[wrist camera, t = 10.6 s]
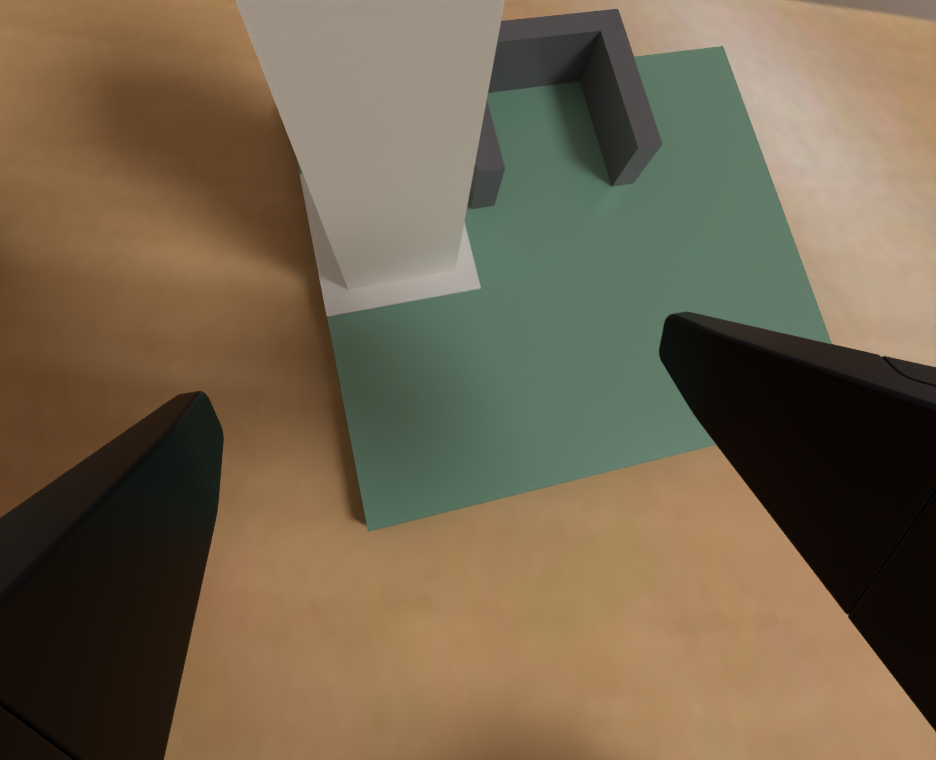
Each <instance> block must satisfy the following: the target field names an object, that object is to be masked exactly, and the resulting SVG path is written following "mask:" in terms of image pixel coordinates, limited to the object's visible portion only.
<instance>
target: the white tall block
mask: <svg viewBox="0 0 936 760" xmlns="http://www.w3.org/2000/svg"><path fill="white" fill-rule="evenodd" d="M235 1H236V4H237V6H238V9H239V12H240V14H241V17H242V19H243V22H244V24H245V27H246V29H247V32H248V35H249V37H250V40H251V42H252V45H253V47H254V50H255V52H256V55H257V58H258V60H259V63H260V65H261V68H262V70H263V73H264V75H265V78H266V81H267V83H268V86H269V88H270V91H271V93H272V96H273V98H274V101H275V104H276V106H277V109H278V111H279V114H280V116H281V119H282V121H283V124H284V127H285V129H286V132H287V134H288V137H289V139H290V142H291V145H292V147H293V150H294V152H295V155H296V157H297V160H298V162H299V165H300V168H301V170H302V173H303V175H304V178H305V180H306V183H307V185H308V188H309V191H310V193H311V196H312V198H313V201H314V203H315V206H316V208H317V211H318V214H319V216H320V219H321V221H322V224H323V226H324V229H325V231H326V234H327V237H328V239H329V242H330V244H331V247H332V249H333V252H334V254H335V257H336V260H337V262H338V265H339V267H340V270H341V272H342V275H343V278H344V280H345V283H346V285H347V288H348V290H350V289H355V288H361V287H366V286H372V285H378V284H383V283H389V282H395V281H400V280H406V279H411V278H417V277H423V276H428V275H434V274H440V273H445V272H451V271H455V270H456V265H457V259H458V254H459V248H460V243H461V237H462V232H463V227H464V221H465V216H466V210H467V205H468V199H469V194H470V188H471V183H472V177H473V172H474V166H475V161H476V155H477V150H478V144H479V139H480V134H481V128H482V123H483V117H484V112H485V106H486V101H487V95H488V90H489V84H490V79H491V73H492V68H493V62H494V57H495V52H496V46H497V41H498V35H499V30H500V24H501V19H502V13H503V8H504V2H505V0H235Z"/></svg>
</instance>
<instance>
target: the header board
mask: <svg viewBox="0 0 936 760" xmlns="http://www.w3.org/2000/svg"><path fill="white" fill-rule="evenodd" d="M297 162H298V160H297ZM298 167H299V172H300V179H301V184H302V190H303V195H304V200H305V205H306V211H307V216H308V221H309V226H310V232H311V237H312V242H313V247H314V253H315V258H316V263H317V268H318V274H319V279H320V284H321V289H322V295H323V300H324V305H325V311H326V316H327V319H328V324H329V330H330V335H331V340H332V346H333V351H334V356H335V361H336V367H337V372H338V377H339V382H340V388H341V393H342V398H343V403H344V409H345V414H346V419H347V424H348V430H349V435H350V440H351V445H352V451H353V456H354V461H355V466H356V472H357V477H358V482H359V487H360V493H361V498H362V503H363V508H364V514H365V519H366V524H367V529H368V531H372V530H376V529H380V528H384V527H388V526H392V525H396V524H400V523H404V522H408V521H412V520H416V519H420V518H424V517H428V516H432V515H436V514H440V513H444V512H448V511H452V510H456V509H460V508H464V507H468V506H472V505H476V504H480V503H484V502H488V501H493V500H497V499H501V498H505V497H509V496H513V495H517V494H521V493H525V492H529V491H533V490H537V489H541V488H545V487H549V486H553V485H557V484H561V483H565V482H569V481H573V480H577V479H581V478H585V477H589V476H593V475H597V474H601V473H605V472H609V471H613V470H617V469H621V468H625V467H629V466H633V465H637V464H641V463H645V462H649V461H653V460H657V459H661V458H665V457H669V456H673V455H677V454H681V453H685V452H689V451H693V450H697V449H701V448H705V447H709V446H713V445H716V444H715V442H714V441H713V440H712V438H711V437H710V436H709V435H708V433H707V432H706V431H705V429H704V428H703V427H702V425H701V424H700V423H699V421H698V420H697V419H696V417H695V416H694V414H693V413H692V411H691V410H690V408H689V407H688V405H687V403H686V402H685V400H684V398H683V397H682V395H681V393H680V392H679V390H678V388H677V387H676V385H675V383H674V382H673V380H672V379H671V377H670V375H669V374H668V372H667V370H666V369H665V367H664V365H663V364H662V362H661V360H660V357H659V346H660V341H661V336H662V331H663V325H664V321H665V319H666V317H667V316H668V315H670V314H673V313H679V312H693V313H697V314H702V315H706V316H710V317H715V318H719V319H724V320H728V321H732V322H737V323H741V324H746V325H750V326H754V327H759V328H763V329H768V330H772V331H776V332H781V333H785V334H790V335H794V336H798V337H803V338H807V339H812V340H816V341H820V342H825V343H829V344H832V343H831V340H830V338H829V335H828V332H827V329H826V327H825V324H824V321H823V318H822V316H821V313H820V310H819V307H818V305H817V302H816V299H815V297H814V294H813V291H812V288H811V286H810V283H809V280H808V277H807V275H806V272H805V269H804V266H803V264H802V261H801V258H800V255H799V253H798V250H797V247H796V245H795V242H794V239H793V236H792V234H791V231H790V228H789V225H788V223H787V220H786V217H785V214H784V212H783V209H782V206H781V204H780V201H779V198H778V195H777V193H776V190H775V187H774V184H773V182H772V179H771V176H770V173H769V171H768V168H767V165H766V163H765V160H764V157H763V154H762V152H761V149H760V146H759V143H758V141H757V138H756V135H755V132H754V130H753V127H752V124H751V121H750V119H749V116H748V113H747V111H746V108H745V105H744V102H743V100H742V97H741V94H740V91H739V89H738V86H737V83H736V80H735V78H734V75H733V72H732V70H731V67H730V64H729V61H728V59H727V56H726V53H725V50H724V48H723V46H720V47H712V48H704V49H696V50H687V51H679V52H671V53H662V54H654V55H646V56H637V57H634V56H633V53H632V50H631V47H630V44H629V41H628V38H627V34H626V31H625V28H624V25H623V22H622V19H621V16H620V13H619V10H618V9H612V10H603V11H593V12H583V13H574V14H564V15H555V16H545V17H536V18H526V19H517V20H507V21H501V24H500V30H499V35H498V41H497V46H496V52H495V57H494V62H493V68H492V73H491V79H490V84H489V90H488V95H487V101H486V106H485V112H484V117H483V123H482V128H481V134H480V139H479V144H478V150H477V155H476V161H475V166H474V172H473V177H472V183H471V188H470V194H469V199H468V205H467V210H466V216H465V221H464V227H463V232H462V237H461V243H460V248H459V254H458V259H457V265H456V270H455V271H451V272H445V273H440V274H434V275H428V276H423V277H417V278H411V279H406V280H400V281H395V282H389V283H383V284H378V285H372V286H366V287H361V288H355V289H350V290H348V288H347V285H346V283H345V280H344V278H343V275H342V272H341V270H340V267H339V265H338V262H337V260H336V257H335V254H334V252H333V249H332V247H331V244H330V242H329V239H328V237H327V234H326V231H325V229H324V226H323V224H322V221H321V219H320V216H319V214H318V211H317V208H316V206H315V203H314V201H313V198H312V196H311V193H310V191H309V188H308V185H307V183H306V180H305V178H304V175H303V173H302V170H301V168H300V165H299V162H298Z"/></svg>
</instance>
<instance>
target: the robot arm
mask: <svg viewBox="0 0 936 760" xmlns="http://www.w3.org/2000/svg"><path fill="white" fill-rule="evenodd" d="M659 357H660V360H661V362H662V364H663V365H664V367H665V369H666V370H667V372H668V374H669V375H670V377H671V379H672V380H673V382H674V383H675V385H676V387H677V388H678V390H679V392H680V393H681V395H682V397H683V398H684V400H685V402H686V403H687V405H688V407H689V408H690V410H691V411H692V413H693V414H694V416H695V417H696V419H697V420H698V421H699V423H700V424H701V425H702V427H703V428H704V429H705V431H706V432H707V433H708V435H709V436H710V437H711V438H712V440H713V441H714V442H715V444H716V445H717V446H718V448H719V449H720V450H721V452H722V453H723V454H724V455H725V457H726V458H727V459H728V461H729V462H730V463H731V465H732V466H733V467H734V468H735V470H736V471H737V472H738V474H739V475H740V476H741V478H742V479H743V480H744V482H745V483H746V484H747V485H748V487H749V488H750V489H751V491H752V492H753V493H754V495H755V496H756V497H757V499H758V500H759V501H760V502H761V504H762V505H763V506H764V508H765V509H766V510H767V512H768V513H769V514H770V515H771V517H772V518H773V519H774V521H775V522H776V523H777V525H778V526H779V527H780V529H781V530H782V531H783V532H784V534H785V535H786V536H787V538H788V539H789V540H790V542H791V543H792V544H793V545H794V547H795V548H796V549H797V551H798V552H799V553H800V555H801V556H802V557H803V559H804V560H805V561H806V562H807V564H808V565H809V566H810V568H811V569H812V570H813V572H814V573H815V574H816V575H817V577H818V578H819V579H820V581H821V582H822V583H823V585H824V586H825V587H826V589H827V590H828V591H829V592H830V594H831V595H832V596H833V598H834V599H835V600H836V602H837V603H838V604H839V606H840V607H841V608H842V609H843V611H844V612H845V613H846V614H849V615H848V618H849V619H850V620H851V622H852V623H853V624H854V626H855V627H856V628H857V630H858V631H859V632H860V633H861V635H862V636H863V637H864V639H865V640H866V641H867V643H868V644H869V645H870V647H871V648H872V649H873V650H874V652H875V653H876V654H877V656H878V657H879V658H880V660H881V661H882V662H883V664H884V665H885V666H886V667H887V669H888V670H889V671H890V673H891V674H892V675H893V677H894V678H895V679H896V681H897V682H898V683H899V684H900V686H901V687H902V688H903V690H904V691H905V692H906V694H907V695H908V696H909V698H910V699H911V700H912V701H913V703H914V704H915V705H916V707H917V708H918V709H919V711H920V712H921V713H922V715H923V716H924V717H925V718H926V720H927V721H928V722H929V724H930V725H931V726H932V728H933V729H934V730H935V732H936V367H932V366H927V365H922V364H918V363H913V362H909V361H904V360H900V359H895V358H891V357H887V356H883V357H881V356H880V355H878V354H873V353H869V352H864V351H860V350H856V349H851V348H847V347H842V346H838V345H834V344H829V343H825V342H820V341H816V340H812V339H807V338H803V337H798V336H794V335H790V334H785V333H781V332H776V331H772V330H768V329H763V328H759V327H754V326H750V325H746V324H741V323H737V322H732V321H728V320H724V319H719V318H715V317H710V316H706V315H702V314H697V313H693V312H679V313H673V314H670V315H668V316H667V317H666V319H665V321H664V325H663V331H662V336H661V341H660V346H659ZM223 441H224V437H223V430H222V427H221V424H220V422H219V420H218V418H217V415H216V413H215V411H214V409H213V406H212V404H211V402H210V400H209V398H208V396H207V395H206V394H205V393H204V392H202V391H196V392H190V393H184V394H179V395H177V396H175V397H174V398H172V399H171V400H170V401H168V402H167V403H165V404H164V405H162V406H161V407H159V408H158V409H157V410H155V411H154V412H152V413H151V414H149V415H148V416H146V417H145V418H144V419H142V420H141V421H139V422H138V423H136V424H135V425H133V426H132V427H131V428H129V429H128V430H126V431H125V432H123V433H122V434H121V435H119V436H118V437H116V438H115V439H113V440H112V441H110V442H109V443H108V444H106V445H105V446H103V447H102V448H100V449H99V450H97V451H96V452H95V453H93V454H92V455H90V456H89V457H87V458H86V459H84V460H83V461H82V462H80V463H79V464H77V465H76V466H74V467H73V468H72V469H70V470H69V471H67V472H66V473H64V474H63V475H61V476H60V477H59V478H57V479H56V480H54V481H53V482H51V483H50V484H48V485H47V486H46V487H44V488H43V489H41V490H40V491H38V492H37V493H35V494H34V495H33V496H31V497H30V498H28V499H27V500H25V501H24V502H23V503H21V504H20V505H18V506H17V507H15V508H14V509H12V510H11V511H10V512H8V513H7V514H5V515H4V516H2V517H1V518H0V760H164V757H165V752H166V747H167V743H168V738H169V734H170V729H171V724H172V720H173V715H174V711H175V706H176V701H177V697H178V692H179V687H180V683H181V678H182V674H183V669H184V664H185V660H186V655H187V651H188V646H189V641H190V637H191V632H192V628H193V623H194V618H195V614H196V609H197V605H198V600H199V595H200V591H201V586H202V582H203V577H204V572H205V568H206V563H207V559H208V554H209V549H210V545H211V540H212V536H213V531H214V526H215V521H216V516H217V511H218V502H219V491H220V478H221V466H222V453H223Z"/></svg>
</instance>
